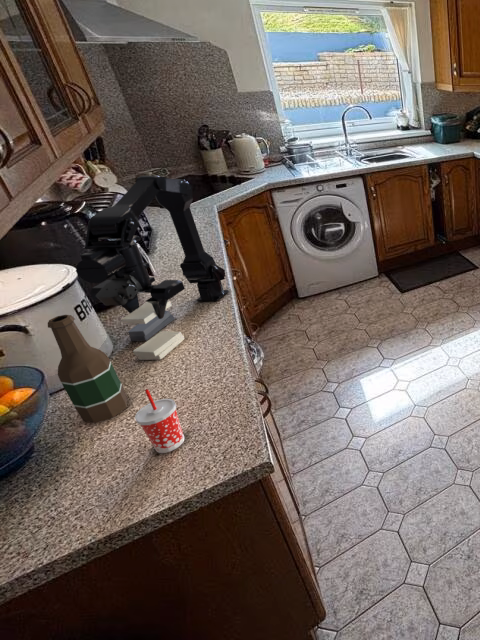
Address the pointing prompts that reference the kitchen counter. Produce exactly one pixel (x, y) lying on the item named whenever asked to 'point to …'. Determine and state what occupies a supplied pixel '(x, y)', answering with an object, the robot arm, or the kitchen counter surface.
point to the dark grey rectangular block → (150, 327)
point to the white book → (142, 314)
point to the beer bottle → (87, 374)
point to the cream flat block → (159, 345)
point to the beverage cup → (161, 424)
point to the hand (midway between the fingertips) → (150, 318)
